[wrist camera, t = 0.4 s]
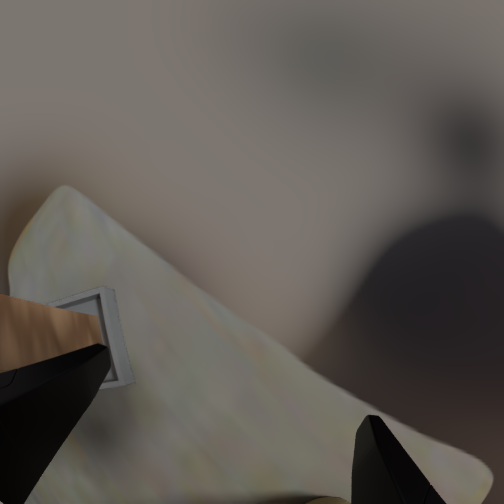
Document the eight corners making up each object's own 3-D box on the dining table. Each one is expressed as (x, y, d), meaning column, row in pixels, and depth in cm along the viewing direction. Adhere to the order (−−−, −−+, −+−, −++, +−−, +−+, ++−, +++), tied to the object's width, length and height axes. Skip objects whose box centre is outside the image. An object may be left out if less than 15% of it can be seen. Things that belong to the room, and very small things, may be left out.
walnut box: (107, 364, 23) (-4, 370, 10) (71, 370, 23) (-37, 374, 10) (97, 315, 24) (-13, 290, 11) (62, 325, 24) (-44, 305, 11)
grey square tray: (135, 382, 23) (125, 385, 21) (65, 392, 22) (53, 394, 21) (114, 289, 25) (103, 286, 23) (49, 309, 25) (37, 307, 23)
